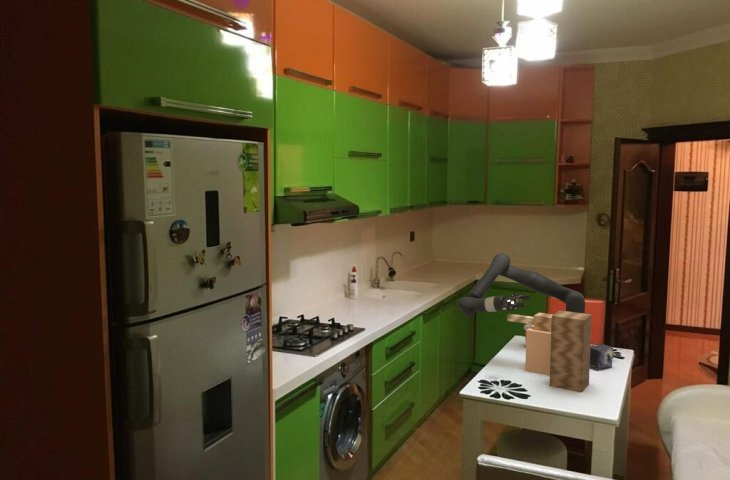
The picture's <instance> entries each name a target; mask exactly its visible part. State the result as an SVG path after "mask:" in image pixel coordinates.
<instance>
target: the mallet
mask: <svg viewBox="0 0 730 480" xmlns="http://www.w3.org/2000/svg"><path fill="white" fill-rule="evenodd" d="M552 315H554V314H551V313H545V312H538V313H536V314H534V316H530V315H529V316H528V315H523V314H514V313H508V314H507V322H512V323H520V324H525V325H526V324H533V325H534V330H538V331H545V332H551V320H552Z"/></svg>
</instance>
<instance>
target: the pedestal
mask: <svg viewBox="0 0 730 480" xmlns="http://www.w3.org/2000/svg"><path fill="white" fill-rule="evenodd" d="M550 353H551V332H545V331H538V330H534V325H533V326H532V327H530V328H529V329H527V330H526V340H525V360H524V361H525V364H524V365H525V366H524V367H525V368H524V370H525V371H526V372H529V373H530V372H531V373H536V374H542V375H546V376H550Z"/></svg>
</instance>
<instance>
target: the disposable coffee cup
mask: <svg viewBox="0 0 730 480" xmlns="http://www.w3.org/2000/svg"><path fill="white" fill-rule="evenodd" d="M532 326H533V324H526V323H525V324H524V326H523V330H524V339H525V341H526V330H527V329H529V328H530V327H532Z"/></svg>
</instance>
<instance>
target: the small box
mask: <svg viewBox="0 0 730 480" xmlns="http://www.w3.org/2000/svg"><path fill="white" fill-rule="evenodd" d="M613 354H614V347H612V346H610V345H608V344H607V345H606V344H604V343H603V344H596V345H590V369H592V370H594V371H597V372H598V371H603V370H608V369H612V368H613Z"/></svg>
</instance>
